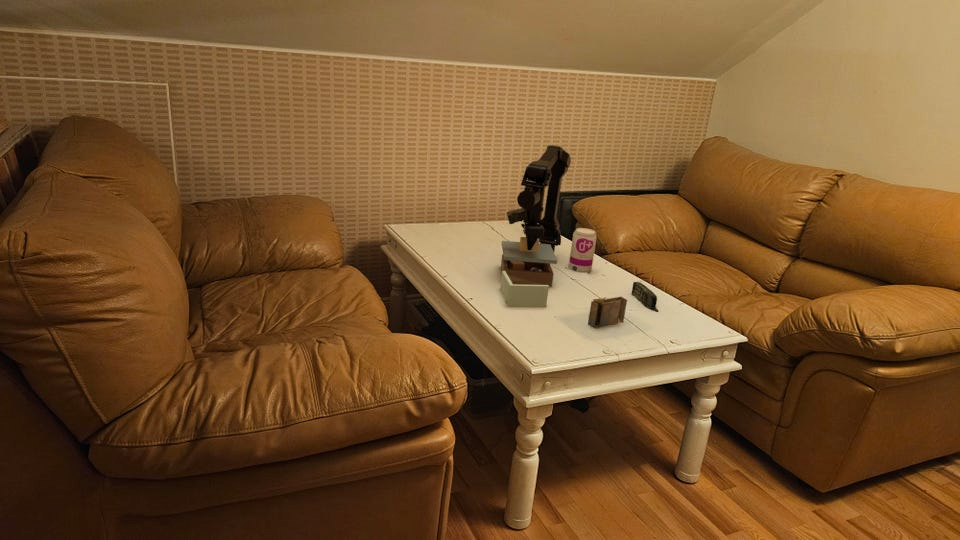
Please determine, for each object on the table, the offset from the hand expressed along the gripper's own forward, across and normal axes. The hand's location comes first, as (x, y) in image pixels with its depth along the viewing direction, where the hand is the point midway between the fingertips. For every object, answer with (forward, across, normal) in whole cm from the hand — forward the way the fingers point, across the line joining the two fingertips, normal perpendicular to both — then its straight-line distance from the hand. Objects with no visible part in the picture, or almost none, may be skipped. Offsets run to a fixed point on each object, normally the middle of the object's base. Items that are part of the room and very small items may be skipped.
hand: (528, 248), depth 201 cm
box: (+11, 0, 0) cm, 11 cm away
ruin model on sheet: (+12, +32, +21) cm, 40 cm away
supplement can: (+11, -13, +21) cm, 27 cm away
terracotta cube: (+10, -3, -3) cm, 11 cm away
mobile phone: (+11, +13, +38) cm, 41 cm away
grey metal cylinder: (+10, +3, +3) cm, 11 cm away
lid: (+2, 0, 0) cm, 2 cm away
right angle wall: (+12, +18, -2) cm, 22 cm away
